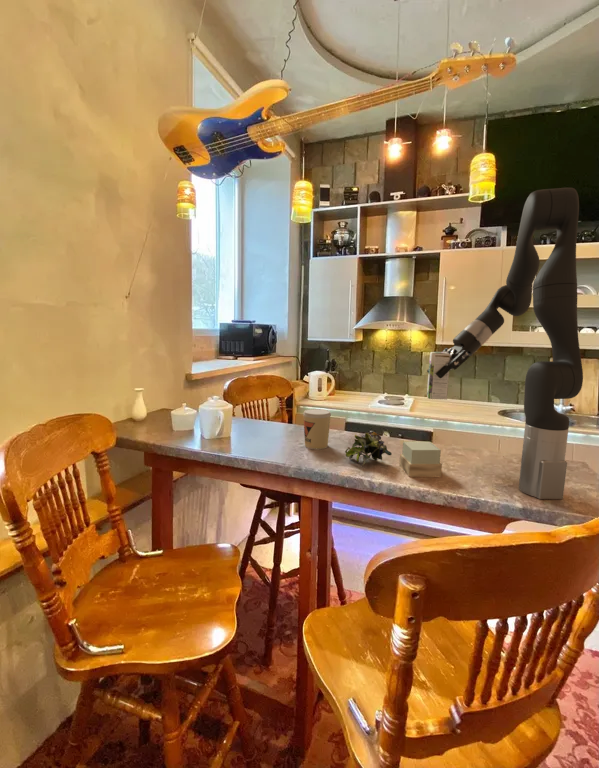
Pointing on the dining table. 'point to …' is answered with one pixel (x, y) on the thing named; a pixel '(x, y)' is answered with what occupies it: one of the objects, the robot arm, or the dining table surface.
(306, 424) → the coffee cup
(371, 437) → the passion flower
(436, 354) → the syrup box
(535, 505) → the dining table surface
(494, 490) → the dining table surface
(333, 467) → the dining table surface
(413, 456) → the tower top
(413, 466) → the tower base
